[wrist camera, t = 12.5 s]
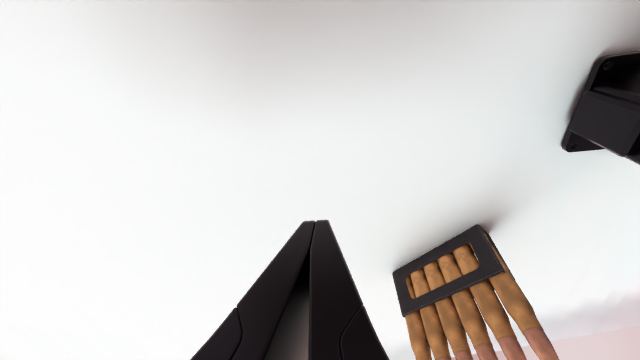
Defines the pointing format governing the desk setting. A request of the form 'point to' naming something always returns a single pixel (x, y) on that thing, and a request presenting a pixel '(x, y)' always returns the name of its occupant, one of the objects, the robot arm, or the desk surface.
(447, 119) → the desk surface
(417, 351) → the ammunition clip
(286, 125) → the desk surface
